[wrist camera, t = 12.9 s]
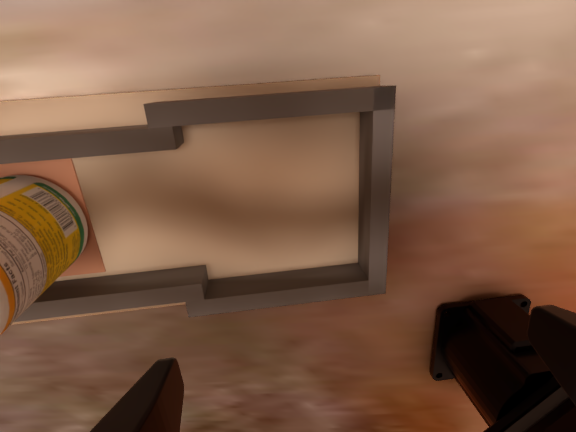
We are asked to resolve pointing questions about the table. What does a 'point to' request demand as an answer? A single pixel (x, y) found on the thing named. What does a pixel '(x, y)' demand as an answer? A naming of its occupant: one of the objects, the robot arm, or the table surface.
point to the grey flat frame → (214, 193)
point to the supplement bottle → (35, 240)
